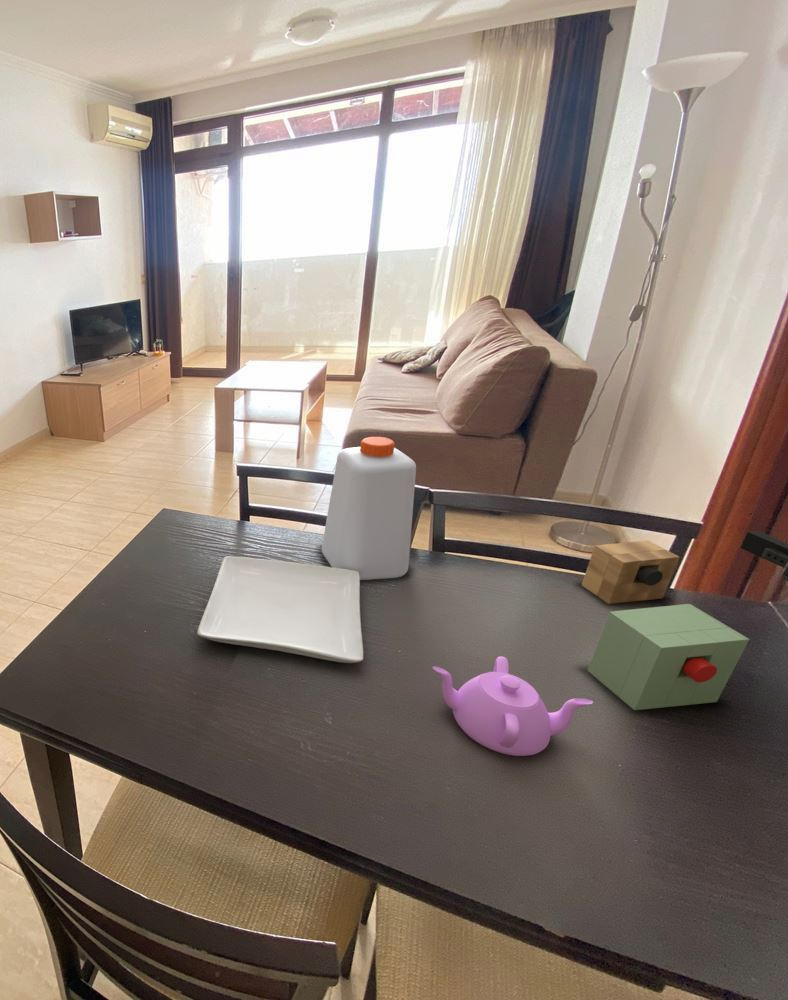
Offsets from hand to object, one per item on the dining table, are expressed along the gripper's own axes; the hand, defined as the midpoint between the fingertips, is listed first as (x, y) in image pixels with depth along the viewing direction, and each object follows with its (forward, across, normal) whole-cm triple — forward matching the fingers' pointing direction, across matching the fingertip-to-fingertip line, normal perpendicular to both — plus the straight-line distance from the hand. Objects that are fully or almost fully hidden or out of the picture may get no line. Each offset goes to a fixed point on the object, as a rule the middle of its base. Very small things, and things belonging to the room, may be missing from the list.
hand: (749, 539), depth 79 cm
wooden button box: (+14, 0, -20) cm, 25 cm away
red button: (-12, -15, -13) cm, 24 cm away
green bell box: (-7, -15, -20) cm, 26 cm away
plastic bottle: (+33, -40, -20) cm, 56 cm away
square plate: (+18, -62, -20) cm, 68 cm away
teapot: (-11, -41, -20) cm, 47 cm away
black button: (+11, 0, -15) cm, 18 cm away
